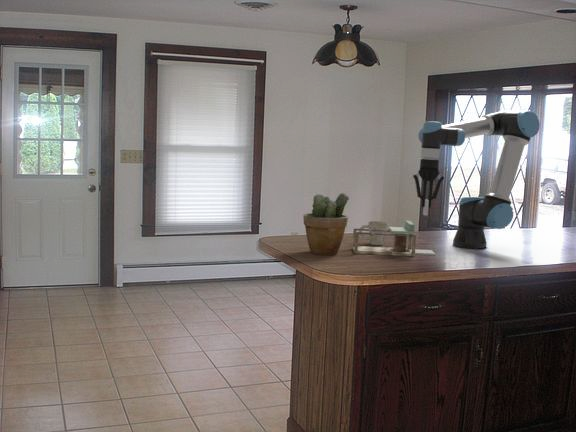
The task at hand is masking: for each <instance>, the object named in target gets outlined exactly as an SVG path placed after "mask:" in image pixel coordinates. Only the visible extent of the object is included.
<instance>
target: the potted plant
mask: <svg viewBox="0 0 576 432" xmlns="http://www.w3.org/2000/svg"><path fill="white" fill-rule="evenodd" d="M349 200H350V197H349V195H347V194H346V193H344V192H342V193H339V195H338V196H337V197H336V199H335V200H331V199H330V197H329V196H324V195H323V194H320V193H318V194H315V195H314V196H313V203H312V210H311V212H308V213H307V212H306V213H303V214H302V215H303V225H304V228H305V234H306V240H307V244H308V248H309V252H310V253H311V254H314V255H318V254H319V255H320V256H333V255H337V254H338V253H339V250H340V247H341V244H342V241H343V239H344V234H345V232H346V228H347V225H348V220H349V216H348V215H346V214H343V213H344V210H345V208H346V204H347V203H348V201H349Z"/></svg>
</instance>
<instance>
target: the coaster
mask: <svg viewBox="0 0 576 432" xmlns="http://www.w3.org/2000/svg"><path fill="white" fill-rule="evenodd" d="M411 250H412V248H411ZM415 255H425V256H426V255H427V256H436V253H435V252H434V251H433V250H431V249H417V248H415Z"/></svg>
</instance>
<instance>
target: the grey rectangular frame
mask: <svg viewBox="0 0 576 432" xmlns="http://www.w3.org/2000/svg"><path fill="white" fill-rule="evenodd" d="M359 231H362V232H359ZM369 231H379V232H386V233H369ZM359 234H362V235H385V236H388V237H389V236H390V237H392V236H393V237H395V236H407V238H408V239H407V240H408V241H407V247H406V252H394V247H384V246H364V245H363V246H362V245H359V237H360V235H359ZM352 235H353V236H352V248H351V249H352V251H353V253H354V254H359V255H360V254H361V255H380V256H400V257H415V256H416V254H415V249H416V243H417V242H416V241H417V234H399V233H392V232H391V231H390V230H389V229H386V230H376V229H369V228H364V229H360V228H356V227H353V233H352ZM411 249H412V250H411Z"/></svg>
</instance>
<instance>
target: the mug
mask: <svg viewBox="0 0 576 432" xmlns="http://www.w3.org/2000/svg"><path fill="white" fill-rule="evenodd" d="M387 226H388V222H386V221H385V222H384V221H380V220H379V221H377V220H373V221H372V220H371V221H368V224H364V225H362V226H361V227H360V228H359V229H376V230H387ZM358 232H363V231H358ZM368 233H387V232H379V231H368ZM363 235H364V234H359V237H360V238H361V239H362V240H365V241H366V240H367V241H369V244H370V245H373V246H383V245H384V244H385V243H384V241H385V237H386V235H369V236H368V237H365V236H363Z"/></svg>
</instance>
